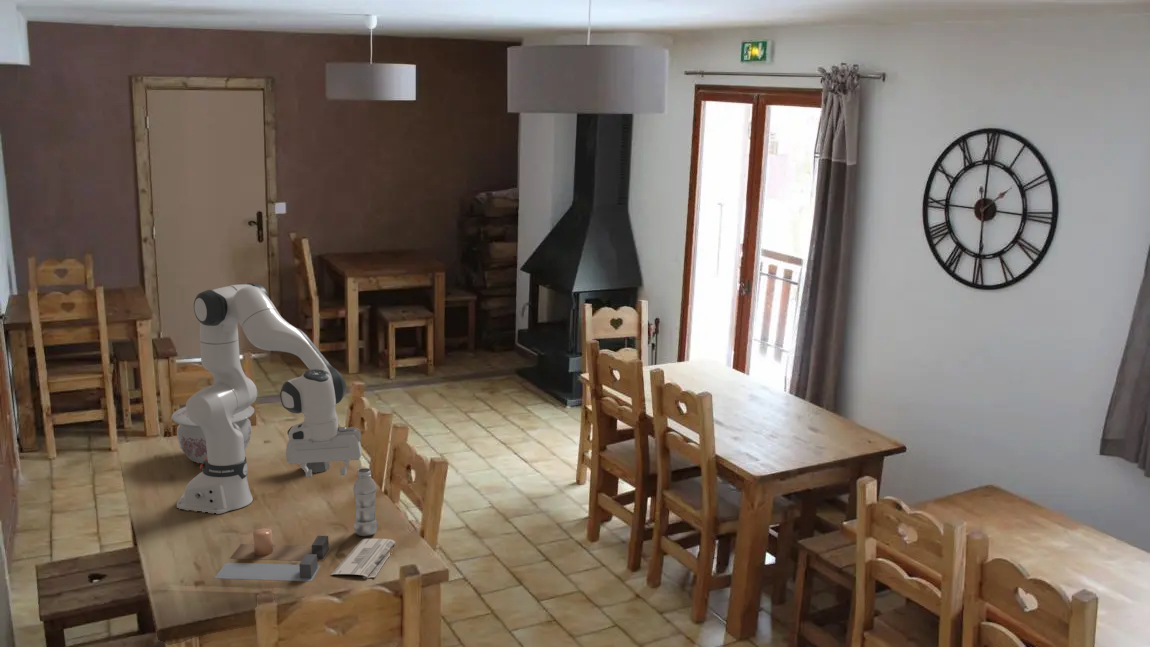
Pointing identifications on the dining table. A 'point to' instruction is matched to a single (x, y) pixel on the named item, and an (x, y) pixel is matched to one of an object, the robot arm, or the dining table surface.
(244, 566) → the grey strip
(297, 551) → the walnut strip
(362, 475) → the plastic bottle
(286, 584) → the dining table surface
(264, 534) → the canister
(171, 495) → the dining table surface
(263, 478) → the dining table surface
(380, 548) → the newspaper
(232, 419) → the chamber pot
